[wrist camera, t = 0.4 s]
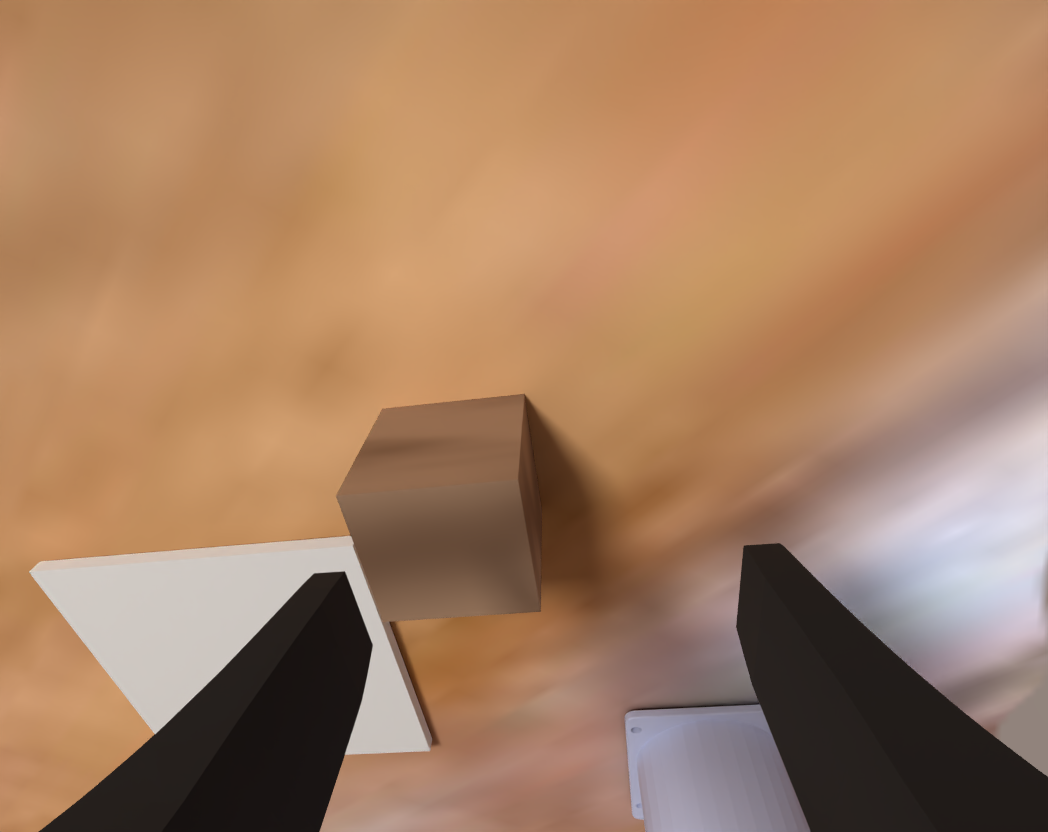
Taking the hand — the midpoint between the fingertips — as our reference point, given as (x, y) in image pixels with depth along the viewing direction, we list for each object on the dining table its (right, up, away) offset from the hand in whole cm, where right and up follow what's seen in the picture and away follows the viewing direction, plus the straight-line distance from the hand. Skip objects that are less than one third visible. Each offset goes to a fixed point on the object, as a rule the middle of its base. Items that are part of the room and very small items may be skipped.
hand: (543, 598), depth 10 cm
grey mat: (-13, -8, +16) cm, 22 cm away
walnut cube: (-2, +2, +10) cm, 11 cm away
